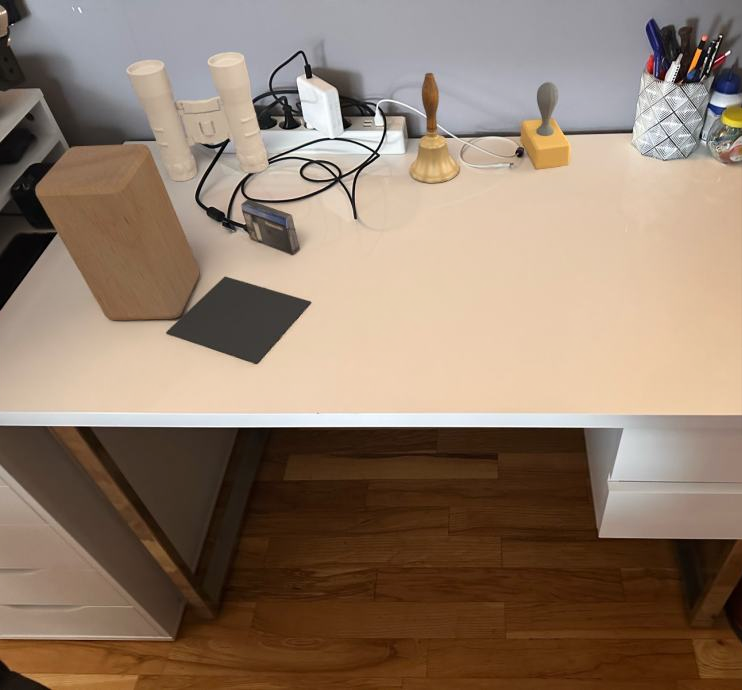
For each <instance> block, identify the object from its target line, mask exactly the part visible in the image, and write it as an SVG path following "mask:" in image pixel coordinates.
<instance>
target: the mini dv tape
mask: <svg viewBox="0 0 742 690" xmlns="http://www.w3.org/2000/svg"><path fill="white" fill-rule="evenodd" d="M240 206H241V212H242V217H243V219H244V222H245V226H246V229H247V233H248V235H249V236H248V237H249V239H250V240H252V241H253V242H257V243H259V244H262V245H264V246H267V247H269V248H273V249H276V250H278V251H281V252H283V253H286V254H289V255H291V256H294V255H295V254H296V253H298V252H299V251H301V247H300V242H299V238H298V235H297V229H296V226H295V222H294V218H293V215H292V214H291V213H288V212H285V211H282V210H279V209H276V208H274V207H271V206H268V205H265V204H262V203H259V202H256V201H254V200H251V199H246V200H245V201H243V202H242V203H241V205H240Z"/></svg>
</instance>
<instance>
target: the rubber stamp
mask: <svg viewBox="0 0 742 690" xmlns="http://www.w3.org/2000/svg"><path fill="white" fill-rule="evenodd" d="M558 101H559V90H558V87H557V85H556V84H555V83H553V82H551V81H550V82H549V81H547V82H544V83H542V84H540V86H539V87H538V88H537V91H536V102H537V107H538V110H539V113H540V116H541V118H538V119H537V118H536V119H528V120H522V122H521V124H520V125H521V126H520V141H521V143H522V145H523V147H524V148H525V151H526V153H527V154H528V156H529V159H531V162H532V163H533V165H534V167H535V168H536V170H540V169H541V170H542V169H549V168H558V167H564V166H568V165H569V163H570V156H571V143H570V142H569V140H568V139H567V137H566V136H565V134H564V133H563V131H562V129H561V128H560V125H559V124H558V123H557V121H556V120H555V119H554V117H552V115H553V113H554V110H555V108H556V107H557V104H558Z"/></svg>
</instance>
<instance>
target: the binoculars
mask: <svg viewBox="0 0 742 690" xmlns="http://www.w3.org/2000/svg"><path fill="white" fill-rule="evenodd" d="M207 65H208V68H209V71H210V74H211V79H212V82H213V85H214V88H215V89H216V92H217V94H218V96H214V97H211V98H207V99H200V100H186V99H183V100H182V99H177V100H176V99H175V98H174V93H173V87H172V85H171V81H170V78H169V74H168V72H167V69H166V67H165V63H164V61H161V60H157V59H146V60H140V61H136V62H134V63H132V64H130V65H129V66H128V67H127V68H126V73H127V76H128V78H129V81H130V84H131V86H132V89H133V91H134V94H135V96H136V98H137V100H138V102H139V104H140V105H141V107H142V109H143V111H144V112H145V115H146V117H147V120H148V123H149V126H150V129H151V130H152V133H153V136H154V138H155V139H154V140H155V143H156V145H157V147H158V149H159V152H160V155H161V158H162V163H163V166H164V168H165V171H167V174H168V176H169V179H170V180H172V181H174V182H185V181H189V180H192V179H193V178H195V177H196V176H197V175H198V173H199V170H198V167H197V161H196V159H195V156H194V155H193V153H192V150H191V148H190V147H193V146H195V145H196V144H197V143H198V144H201V145H208V144H218V143H222V142H224V141H226V140H228V139H229V141H230V142H233V145H234V150H235V155H236V159H237V161H238V162H239V165H240V169H241V171H243V172H244V173H247V174H257V173H261V172H263V171H265V170H266V169H268V168H269V160H268V151H267V149H266V147H265V144H264V140H263V137H262V134H261V129H260V125H259V121H258V117H257V113H256V109H255V107H254V103H253V98H252V90H251V88H252V87H251V80H250V76H249V71H248V67H247V64H246V60H245V55H244V54H242V53H240V52H237V51H236V52H235V51H228V52H221V53H217V54H215V55H213V56H211V57H209V58H208V59H207Z"/></svg>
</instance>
